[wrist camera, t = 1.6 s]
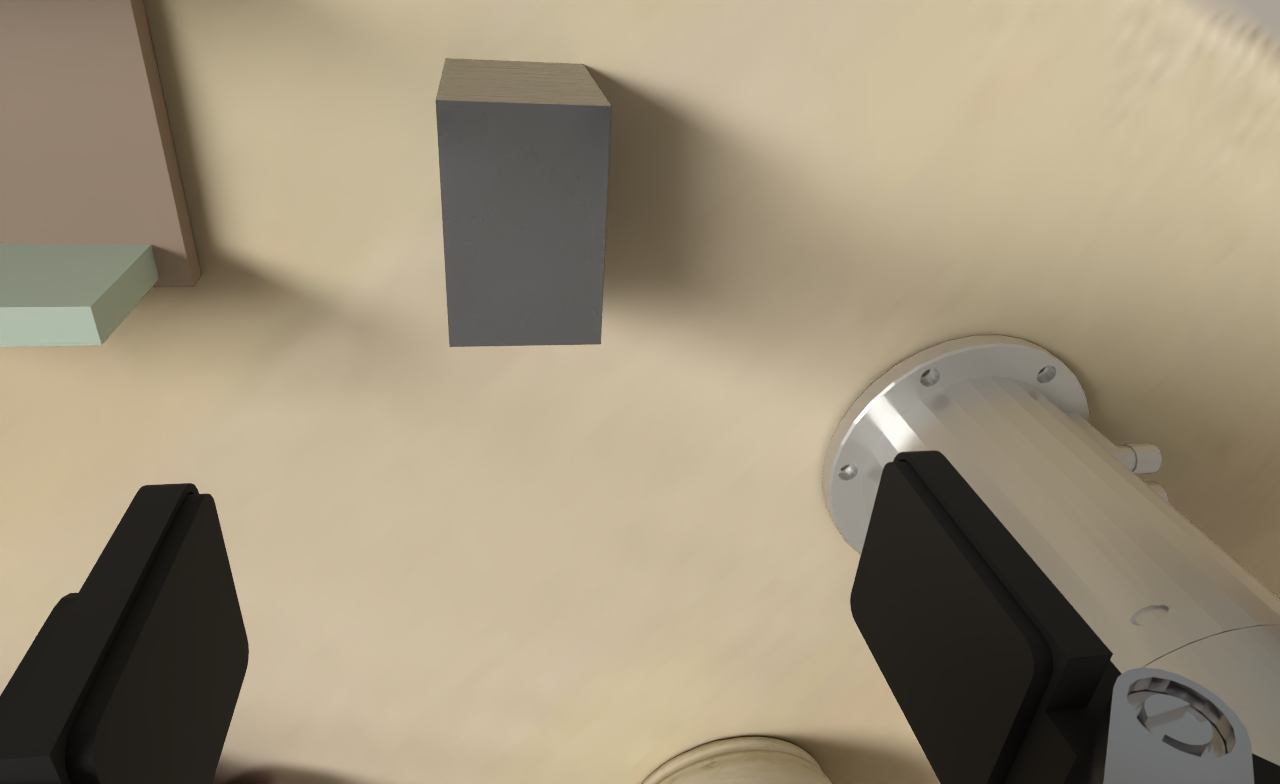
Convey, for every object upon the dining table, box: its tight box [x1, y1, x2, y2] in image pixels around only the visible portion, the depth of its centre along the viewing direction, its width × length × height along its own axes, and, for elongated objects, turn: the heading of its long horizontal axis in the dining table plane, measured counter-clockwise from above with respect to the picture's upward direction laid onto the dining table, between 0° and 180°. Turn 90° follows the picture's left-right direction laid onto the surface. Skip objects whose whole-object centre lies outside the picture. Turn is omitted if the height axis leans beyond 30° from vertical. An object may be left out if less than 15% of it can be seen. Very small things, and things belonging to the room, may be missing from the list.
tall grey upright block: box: [436, 58, 611, 347], centre depth 26 cm, size 4×7×7 cm, turn 176°
